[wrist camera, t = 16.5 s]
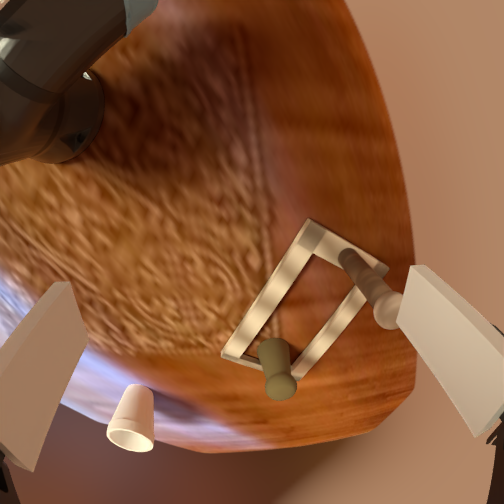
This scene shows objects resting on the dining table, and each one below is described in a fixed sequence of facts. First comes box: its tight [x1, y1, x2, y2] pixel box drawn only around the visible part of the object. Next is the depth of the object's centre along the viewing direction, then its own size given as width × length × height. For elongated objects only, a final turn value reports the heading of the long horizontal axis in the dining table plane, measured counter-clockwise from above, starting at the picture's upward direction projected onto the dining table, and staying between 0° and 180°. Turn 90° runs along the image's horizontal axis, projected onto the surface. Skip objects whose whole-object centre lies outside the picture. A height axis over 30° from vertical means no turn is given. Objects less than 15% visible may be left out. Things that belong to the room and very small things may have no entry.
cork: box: [257, 338, 297, 401], centre depth 47 cm, size 6×6×11 cm
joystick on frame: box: [221, 218, 403, 381], centre depth 41 cm, size 28×17×18 cm, turn 151°
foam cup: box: [107, 384, 155, 452], centre depth 49 cm, size 10×9×13 cm
